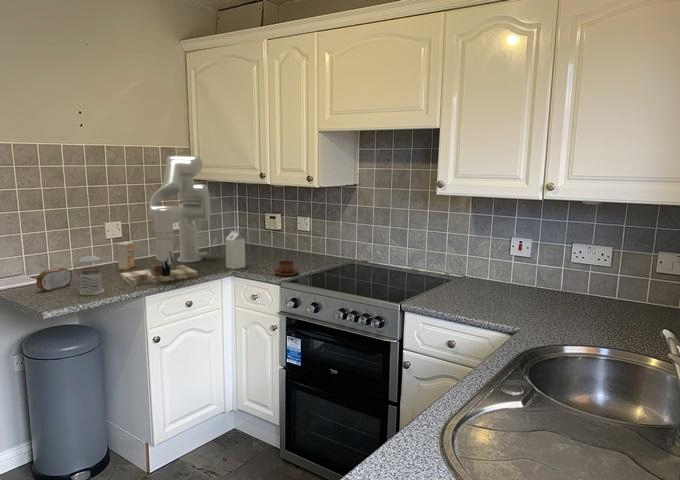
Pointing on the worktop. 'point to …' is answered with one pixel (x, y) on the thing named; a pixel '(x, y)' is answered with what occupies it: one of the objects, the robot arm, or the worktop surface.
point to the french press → (90, 276)
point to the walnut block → (156, 270)
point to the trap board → (147, 278)
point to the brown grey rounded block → (54, 279)
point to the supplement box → (126, 255)
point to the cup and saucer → (286, 268)
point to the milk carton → (235, 251)
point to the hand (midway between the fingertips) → (166, 275)
